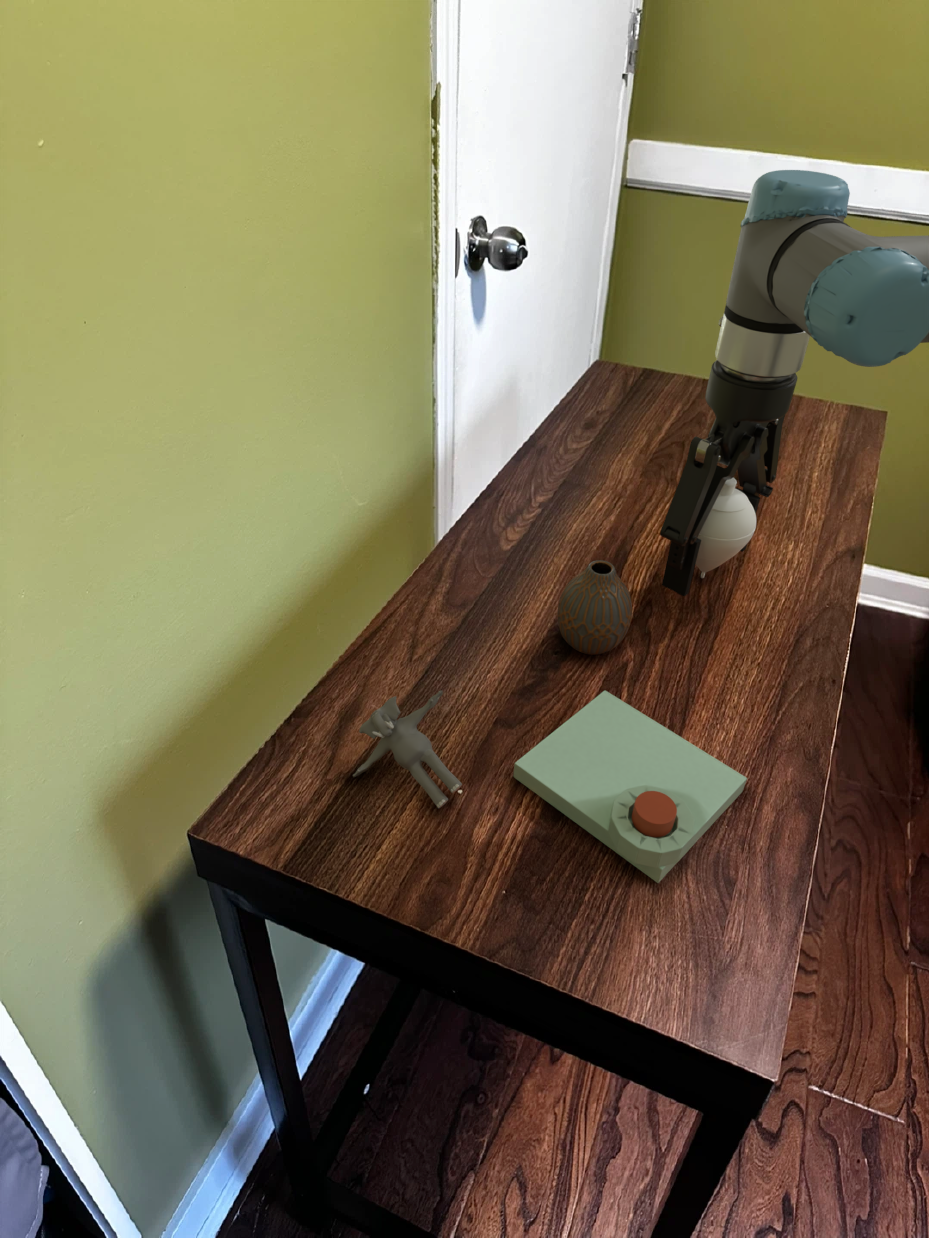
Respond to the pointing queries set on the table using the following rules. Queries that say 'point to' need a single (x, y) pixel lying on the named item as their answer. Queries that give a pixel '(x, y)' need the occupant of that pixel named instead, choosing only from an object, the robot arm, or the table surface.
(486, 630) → the table surface
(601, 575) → the vase
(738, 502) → the spinning top
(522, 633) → the table surface
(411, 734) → the elephant figurine
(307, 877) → the table surface
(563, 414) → the table surface
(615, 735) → the green push button box
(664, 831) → the button
